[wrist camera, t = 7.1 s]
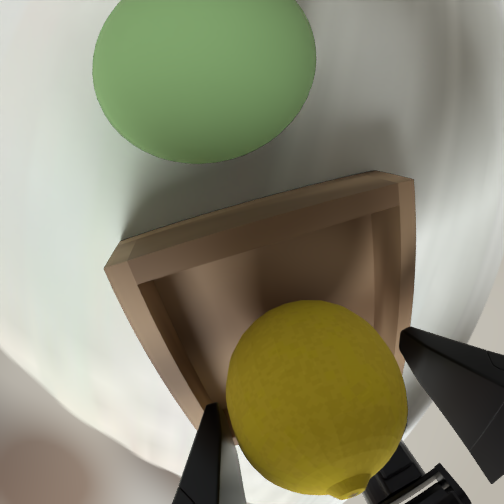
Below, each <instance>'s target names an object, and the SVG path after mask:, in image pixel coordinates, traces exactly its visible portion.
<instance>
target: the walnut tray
mask: <svg viewBox="0 0 504 504" xmlns="http://www.w3.org/2000/svg"><path fill="white" fill-rule="evenodd" d="M415 256H416V212H415V190H414V179H411V178H406V177H402V176H398V175H394V174H389V173H385V172H380V171H376V170H374V171H369V172H365V173H360V174H356V175H351V176H347V177H343V178H338V179H334V180H330V181H326V182H322V183H318V184H314V185H309V186H305V187H301V188H298V189H294V190H290V191H286V192H282V193H278V194H274V195H271V196H267V197H263V198H260V199H256V200H252V201H249V202H245V203H241V204H238V205H234V206H231V207H227V208H224V209H221V210H217V211H214V212H210V213H207V214H204V215H200V216H197V217H194V218H190V219H187V220H184V221H181V222H177V223H174V224H171V225H168V226H165V227H162V228H159V229H155V230H152V231H149V232H146V233H143V234H140V235H137V236H134V237H131V238H128V239H125V240H122V241H120V242H119V244H118V245H117V247H116V248H115V250H114V252H113V253H112V255H111V257H110V258H109V260H108V262H107V264H106V265H105V267H104V271H105V273H106V275H107V277H108V280H109V282H110V284H111V286H112V288H113V290H114V293H115V295H116V297H117V299H118V301H119V303H120V305H121V307H122V309H123V311H124V313H125V315H126V317H127V319H128V321H129V323H130V325H131V326H132V328H133V330H134V332H135V334H136V336H137V338H138V339H139V341H140V343H141V345H142V347H143V348H144V350H145V352H146V354H147V355H148V357H149V359H150V360H151V362H152V364H153V365H154V367H155V369H156V370H157V372H158V374H159V375H160V377H161V378H162V380H163V382H164V383H165V385H166V386H167V388H168V389H169V391H170V393H171V394H172V396H173V397H174V399H175V400H176V402H177V403H178V405H179V406H180V407H181V409H182V410H183V412H184V413H185V415H186V416H187V417H188V419H189V420H190V422H191V423H192V424H193V426H194V427H195V429H196V430H198V427H199V424H200V421H201V418H202V416H203V413H204V410H205V407H206V405H207V404H210V403H214V402H218V403H219V404H220V406H221V408H222V410H223V412H224V413H225V415H226V418H227V421H228V424H229V428H230V431H231V434H232V438H233V441H234V444H235V445H239V444H238V441H237V439H236V437H235V434H234V431H233V428H232V424H231V420H230V416H229V413H228V409H227V402H226V381H227V375H228V368H229V363H230V359H231V356H232V353H233V351H234V349H235V347H236V346H237V344H238V342H239V340H240V338H241V336H242V335H243V333H244V332H245V331H246V330H247V329H248V328H249V327H250V326H251V325H252V324H253V322H254V321H255V320H256V319H258V318H259V317H261V316H262V315H264V314H265V313H266V312H268V311H269V310H271V309H274V308H276V307H278V306H281V305H283V304H286V303H290V302H295V301H300V300H322V301H326V302H330V303H334V304H337V305H340V306H343V307H345V308H347V309H348V310H350V311H352V312H353V313H355V314H357V315H358V316H360V317H361V318H363V319H364V320H365V321H367V322H368V323H369V324H370V325H371V326H372V327H373V328H374V329H375V330H376V331H377V333H378V334H379V335H380V336H381V338H382V339H383V340H384V342H385V343H386V344H387V346H388V347H389V349H390V350H391V352H392V353H393V355H394V357H395V359H396V361H397V364H398V366H399V368H400V371H401V374H402V373H403V368H404V363H405V359H404V357H403V355H402V354H401V352H400V350H399V339H400V332H401V331H402V330H403V329H405V328H407V327H410V323H411V314H412V304H413V293H414V278H415Z"/></svg>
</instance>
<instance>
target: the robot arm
mask: <svg viewBox="0 0 504 504" xmlns="http://www.w3.org/2000/svg"><path fill="white" fill-rule="evenodd" d="M399 350H400V352H401V354H402V355H403V357H404V359H405V360H406V362H407V364H408V365H409V367H410V369H411V370H412V372H413V374H414V375H415V377H416V378H417V380H418V381H419V383H420V384H421V386H422V387H423V388H424V389H425V391H426V392H427V393H428V395H429V396H430V397H431V399H432V400H433V401H434V403H435V404H436V405H437V407H438V408H439V409H440V411H441V412H442V414H443V415H444V416H445V418H446V419H447V420H448V422H449V423H450V425H451V426H452V427H453V428H454V430H455V432H456V433H457V434H458V436H459V437H460V438H461V440H462V441H463V443H464V444H465V446H466V447H467V449H468V450H469V452H470V453H471V455H472V456H473V458H474V459H475V460H476V462H477V464H478V465H479V467H480V468H481V470H482V471H483V472H484V474H485V476H486V477H487V479H488V480H489V482H490V483H491V484H493V483H494V482H495V481H497V480H498V479H499V478H500V477H501V476H502V475H504V355H501V354H498V353H494V352H491V351H486V350H484V349H481V348H477V347H474V346H471V345H468V344H465V343H461V342H458V341H455V340H452V339H448V338H445V337H442V336H439V335H436V334H433V333H430V332H426V331H423V330H420V329H417V328H414V327H407V328H405V329H403V330H402V331H401V332H400V339H399ZM406 426H407V423H406ZM406 426H405V428H406ZM404 431H405V429H404ZM403 434H404V433H403ZM402 436H403V435H402ZM435 479H437V481H438V482H437V483H435V484H434V485H432V486H431V487H429V488H428V489H427V490H425V491H424V492H422V493H421V494H419V495H418V496H416V497H415V498H413V499H412V500H410V501H408V502H407V503H405V504H471V501H470V500H469V498H468V496H467V495H466V494H465V492H464V491H463V490H462V488H461V487H460V486H459V485H458V484H457V483H456V481H455V480H454V479H453V478H452V477H451V475H450V474H449V473H448V472H447V471H446V470H445V468H444V467H443V466H442V465H441V464H440V463H439V464H437V465H436V466H435V467H434V469H432V470H431V471H430V472H428V473H427V474H425V472H424V471H423V469H422V468H421V467H420V465H419V464H418V462H417V461H416V459H415V458H414V457H413V455H412V454H411V452H410V451H409V450H408V448H407V447H406V445H405V444H404V442H403V441H402V438H401V441H400V443H399V445H398V447H397V449H396V451H395V452H394V454H393V455H392V457H391V458H390V459H389V461H388V462H387V463H386V464H385V466H384V467H383V468H382V469H380V470H379V471H378V472H377V473H376V474H375V475H374V476H373V477H371V478H370V480H369V482H368V484H367V487H366V489H365V491H363V492H362V494H363V496H364V498H365V500H366V502H367V503H368V504H399V503H401V502H402V501H404V500H406V499H407V498H409V497H411V496H412V495H414V494H415V493H417V492H418V491H420V490H421V489H423V488H424V487H425V486H427V485H428V484H430V483H431V482H433V481H434V480H435ZM172 504H246V499H245V493H244V488H243V482H242V477H241V471H240V465H239V459H238V455H237V451H236V448H235V444H234V441H233V438H232V434H231V431H230V428H229V424H228V421H227V418H226V415H225V413H224V412H223V410H222V408H221V406H220V404H219V403H218V402H214V403H210V404H207V405H206V407H205V410H204V413H203V416H202V418H201V421H200V424H199V427H198V430H197V433H196V436H195V439H194V442H193V445H192V448H191V451H190V454H189V457H188V460H187V463H186V465H185V468H184V471H183V474H182V477H181V480H180V483H179V487H178V489H177V491H176V494H175V497H174V500H173V502H172Z"/></svg>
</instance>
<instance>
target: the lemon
mask: <svg viewBox="0 0 504 504" xmlns="http://www.w3.org/2000/svg"><path fill="white" fill-rule="evenodd" d="M226 402H227V409H228V413H229V416H230V420H231V424H232V428H233V431H234V434H235V437H236V439H237V441H238V444H239V446H240V448H241V450H242V452H243V453H244V455H245V457H246V458H247V460H248V461H249V462H250V464H251V465H252V466H253V467H254V468H255V469H256V470H257V471H258V472H259V473H260V474H261V475H262V476H263V477H264V478H266V479H267V480H269V481H270V482H272V483H273V484H275V485H277V486H280V487H282V488H285V489H287V490H290V491H293V492H297V493H301V494H308V495H331V496H333V497H335V498H337V499H340V500H344V499H348V498H352V497H354V496H356V495H359V494H360V493H362V492H363V491H365V489H366V487H367V484H368V482H369V480H370V478H371V477H373V476H374V475H375V474H376V473H377V472H378V471H379V470H380V469H382V468H383V467H384V466H385V464H386V463H387V462H388V461H389V459H390V458H391V457H392V455H393V454H394V452H395V451H396V449H397V447H398V445H399V443H400V441H401V438H402V435H403V433H404V429H405V426H406V423H407V415H408V406H407V396H406V389H405V385H404V380H403V377H402V374H401V371H400V368H399V366H398V364H397V361H396V359H395V357H394V355H393V353H392V352H391V350H390V349H389V347H388V346H387V344H386V343H385V342H384V340H383V339H382V338H381V336H380V335H379V334H378V333H377V331H376V330H375V329H374V328H373V327H372V326H371V325H370V324H369V323H368V322H367V321H365V320H364V319H363V318H361V317H360V316H358V315H357V314H355V313H353V312H352V311H350V310H348V309H347V308H345V307H343V306H340V305H337V304H334V303H330V302H326V301H322V300H300V301H295V302H290V303H286V304H283V305H281V306H278V307H276V308H274V309H271V310H269V311H268V312H266V313H265V314H264V315H262V316H261V317H259V318H258V319H256V320H255V321H254V322H253V324H252V325H251V326H250V327H249V328H248V329H247V330H246V331H245V332H244V333H243V335H242V336H241V338H240V340H239V342H238V344H237V346H236V347H235V349H234V351H233V353H232V356H231V359H230V363H229V368H228V375H227V381H226Z"/></svg>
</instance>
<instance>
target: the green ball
mask: <svg viewBox="0 0 504 504" xmlns="http://www.w3.org/2000/svg"><path fill="white" fill-rule="evenodd" d="M315 68H316V49H315V42H314V37H313V33H312V30H311V27H310V24H309V22H308V20H307V18H306V16H305V14H304V12H303V11H302V9H301V8H300V6H299V5H298V4H297V2H296V1H295V0H121V1H120V2H119V3H118V4H117V6H116V7H115V8H114V10H113V11H112V12H111V14H110V15H109V17H108V18H107V20H106V22H105V24H104V25H103V27H102V29H101V31H100V34H99V36H98V39H97V42H96V46H95V51H94V56H93V72H92V74H93V83H94V89H95V92H96V96H97V99H98V101H99V104H100V106H101V108H102V110H103V112H104V114H105V116H106V117H107V119H108V120H109V122H110V123H111V125H112V126H113V127H114V128H115V129H116V130H117V131H118V132H119V134H120V135H121V136H123V137H124V138H125V139H126V140H128V141H129V142H130V143H131V144H133V145H134V146H136V147H138V148H139V149H141V150H143V151H145V152H147V153H149V154H152V155H154V156H156V157H159V158H163V159H166V160H170V161H174V162H181V163H191V164H204V163H216V162H221V161H226V160H231V159H234V158H237V157H240V156H243V155H246V154H248V153H250V152H252V151H254V150H256V149H258V148H260V147H262V146H263V145H265V144H266V143H268V142H270V141H271V140H272V139H273V138H275V137H276V136H277V135H278V134H280V133H281V132H282V131H283V130H284V129H285V128H286V127H287V126H288V125H289V124H290V123H291V122H292V121H293V119H294V118H295V117H296V115H297V114H298V113H299V111H300V110H301V108H302V106H303V104H304V103H305V101H306V99H307V96H308V94H309V91H310V89H311V86H312V83H313V79H314V75H315Z"/></svg>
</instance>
